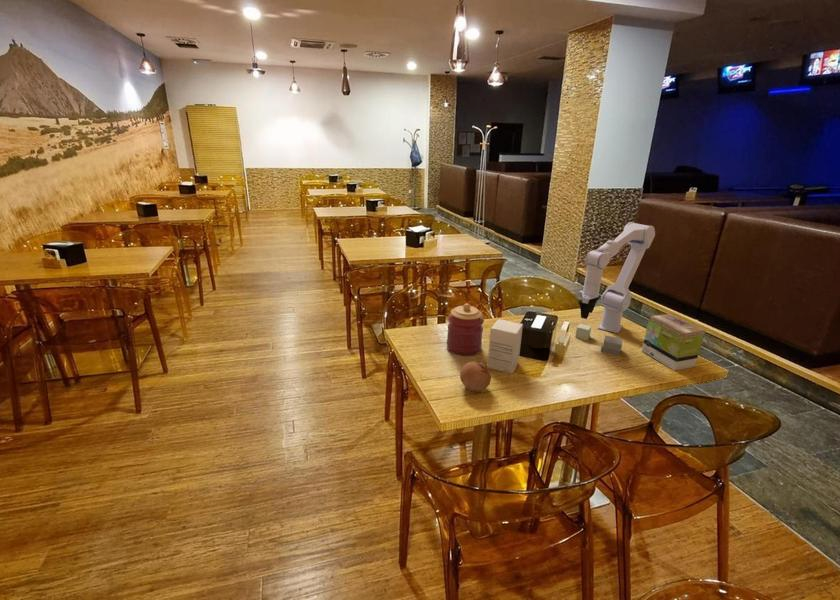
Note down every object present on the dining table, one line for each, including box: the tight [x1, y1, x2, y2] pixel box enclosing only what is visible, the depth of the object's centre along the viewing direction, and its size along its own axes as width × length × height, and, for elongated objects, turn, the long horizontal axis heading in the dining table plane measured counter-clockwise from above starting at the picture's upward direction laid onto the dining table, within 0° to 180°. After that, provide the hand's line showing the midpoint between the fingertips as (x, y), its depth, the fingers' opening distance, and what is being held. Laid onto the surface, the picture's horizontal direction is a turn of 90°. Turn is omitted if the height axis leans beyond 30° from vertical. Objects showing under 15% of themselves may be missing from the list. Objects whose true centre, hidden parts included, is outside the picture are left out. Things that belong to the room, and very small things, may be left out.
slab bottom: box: [600, 344, 623, 357], centre depth 158 cm, size 6×6×2 cm
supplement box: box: [486, 318, 524, 374], centre depth 143 cm, size 9×9×15 cm
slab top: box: [602, 334, 623, 352], centre depth 157 cm, size 6×6×2 cm
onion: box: [459, 360, 492, 394], centre depth 130 cm, size 10×9×10 cm
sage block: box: [574, 323, 592, 341], centre depth 168 cm, size 4×4×4 cm
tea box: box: [641, 313, 706, 371], centre depth 150 cm, size 15×10×15 cm, turn 18°
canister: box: [446, 303, 485, 356], centre depth 154 cm, size 13×13×18 cm
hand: (586, 315), depth 165 cm, fingers open, 7 cm apart
